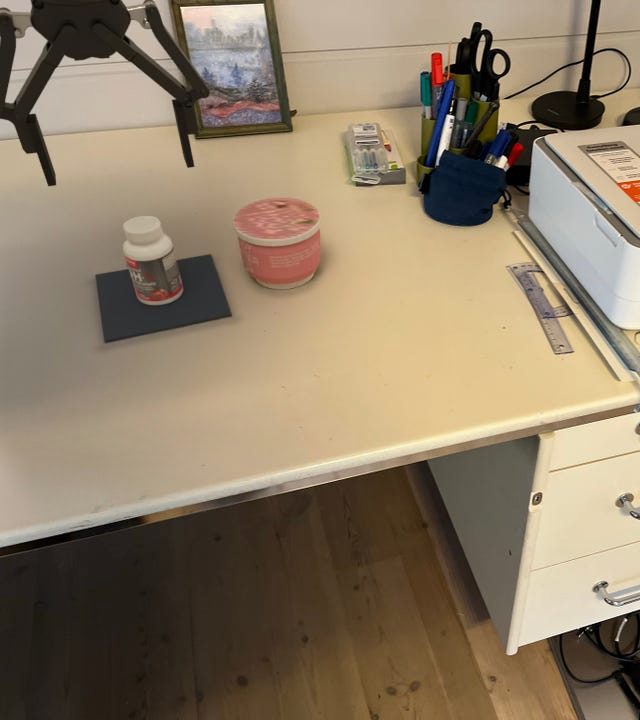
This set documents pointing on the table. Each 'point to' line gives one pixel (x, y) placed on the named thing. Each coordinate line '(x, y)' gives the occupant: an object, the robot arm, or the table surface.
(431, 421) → the table surface
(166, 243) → the pill bottle
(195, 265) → the mat
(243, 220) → the container
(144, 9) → the robot arm
